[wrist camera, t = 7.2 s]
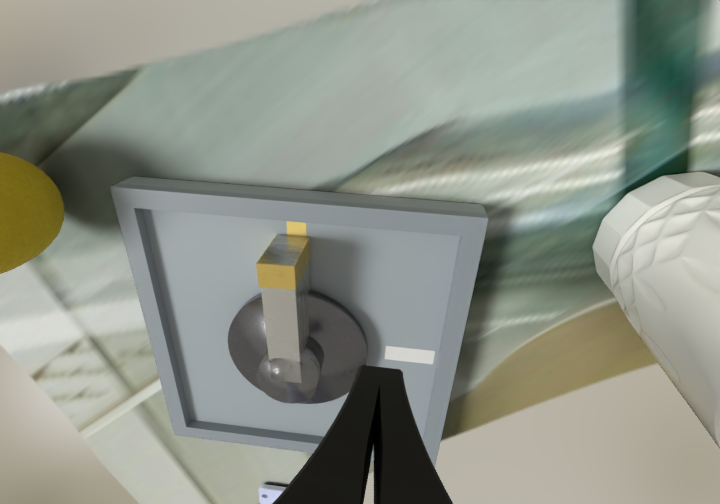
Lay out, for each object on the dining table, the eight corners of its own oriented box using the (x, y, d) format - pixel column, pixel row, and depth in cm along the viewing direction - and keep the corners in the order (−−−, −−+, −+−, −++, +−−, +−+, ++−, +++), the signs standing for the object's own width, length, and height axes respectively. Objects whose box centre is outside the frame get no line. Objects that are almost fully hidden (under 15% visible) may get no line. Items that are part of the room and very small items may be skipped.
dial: (365, 399, 24) (361, 442, 22) (241, 387, 25) (222, 427, 22) (372, 241, 19) (367, 271, 17) (215, 230, 20) (186, 258, 17)
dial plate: (433, 444, 27) (434, 468, 26) (187, 413, 29) (174, 435, 27) (481, 204, 19) (488, 218, 18) (132, 176, 20) (109, 186, 19)
